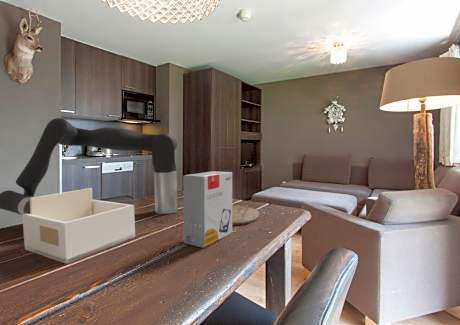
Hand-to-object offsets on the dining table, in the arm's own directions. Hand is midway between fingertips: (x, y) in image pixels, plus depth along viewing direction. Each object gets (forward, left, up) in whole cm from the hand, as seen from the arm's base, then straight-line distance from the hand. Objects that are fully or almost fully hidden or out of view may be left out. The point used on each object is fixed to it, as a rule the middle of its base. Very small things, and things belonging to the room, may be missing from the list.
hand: (63, 215), depth 82 cm
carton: (-7, +6, -7) cm, 12 cm away
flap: (0, 0, -5) cm, 5 cm away
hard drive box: (-44, +11, -7) cm, 46 cm away
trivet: (-54, -11, -8) cm, 56 cm away
